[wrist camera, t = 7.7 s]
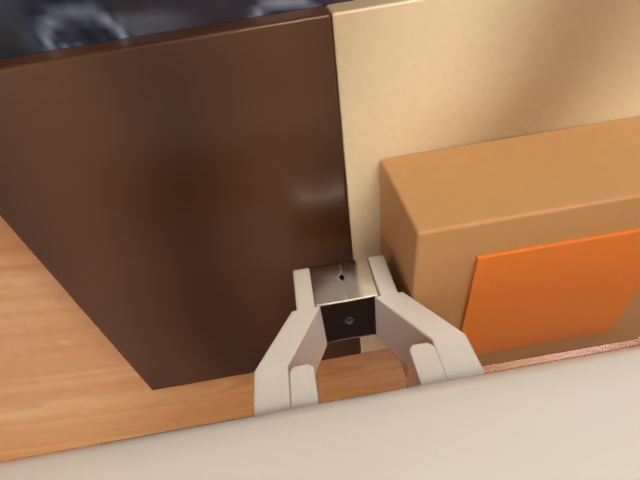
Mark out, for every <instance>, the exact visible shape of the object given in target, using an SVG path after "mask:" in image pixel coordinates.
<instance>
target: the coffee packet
mask: <svg viewBox="0 0 640 480" xmlns="http://www.w3.org/2000/svg"><path fill="white" fill-rule="evenodd" d="M380 215H381V255H383V256H384V257H385V260H386V262H387V265H388V268H389V270H390V273H391V275H392V278H393V280H394V283H395V286H396V288H397V291H398V292H404V293H406V294H407V295H409V296H410V297H411V298H413V299H414V300H416V301H417V302H419V303H420V304H422V305H423V306H425V307H426V308H428V309H429V310H430V311H432V312H433V313H435V314H436V315H438V316H439V317H441V318H442V319H444V320H445V321H447V322H448V323H450V324H451V325H452V326H454V327H455V328H457V329H458V330H460V331H461V332H463V333H464V334H466V336H467V338H468V340H469V342H470V344H471V346H472V348H473V350H474V352H475V354H476V356H477V358H478V360H479V362H480V363H481V365H482V366H486V365H491V364H497V363H503V362H509V361H514V360H520V359H526V358H531V357H537V356H543V355H548V354H554V353H560V352H565V351H571V350H577V349H582V348H588V347H594V346H599V345H605V344H611V343H616V342H622V341H628V340H633V339H637V338H638V337H639V336H640V116H638V117H632V118H626V119H620V120H614V121H608V122H602V123H596V124H590V125H584V126H578V127H572V128H566V129H560V130H554V131H548V132H542V133H536V134H530V135H524V136H518V137H512V138H506V139H500V140H494V141H488V142H482V143H476V144H470V145H464V146H458V147H452V148H446V149H440V150H434V151H428V152H422V153H416V154H410V155H404V156H398V157H392V158H386V159H382V160H381V161H380ZM400 360H401V359H400ZM401 363H402V366H403V369H404V372H405V375H406V377H407V374H408V366H407V365H406V364H405V363H404V362H403V361H402V360H401Z"/></svg>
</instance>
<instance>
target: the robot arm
mask: <svg viewBox="0 0 640 480" xmlns="http://www.w3.org/2000/svg"><path fill="white" fill-rule="evenodd" d="M309 268H310V269H309ZM309 268H304V269H297V270H293V279H294V290H295V300H296V311H292V312H291V314H290V315H289V317H288V318H287V320H286V322H285V323H284V325H283V326H282V328H281V330H280V331H279V333H278V335H277V336H276V338H275V339H274V341H273V343H272V344H271V346H270V347H269V349H268V351H267V352H266V354H265V355H264V357H263V359H262V360H261V362H260V364H259V365H258V367H257V368H256V370H255V372H254V407H253V416H249V417H243V418H238V419H232V420H227V421H221V422H216V423H210V424H205V425H199V426H194V427H188V428H183V429H177V430H172V431H167V432H161V433H156V434H150V435H145V436H139V437H134V438H128V439H123V440H117V441H112V442H106V443H101V444H95V445H90V446H84V447H79V448H73V449H68V450H62V451H57V452H51V453H46V454H40V455H35V456H29V457H24V458H18V459H13V460H7V461H2V462H0V480H640V345H637V346H632V347H626V348H621V349H615V350H610V351H605V352H599V353H594V354H588V355H583V356H577V357H572V358H566V359H561V360H555V361H550V362H544V363H539V364H533V365H528V366H522V367H517V368H511V369H506V370H500V371H495V372H489V373H485V371H484V369H483V367H482V365H481V363H480V362H479V360H478V358H477V356H476V354H475V352H474V350H473V348H472V346H471V344H470V342H469V340H468V338H467V336H466V334H464V333H463V332H461V331H460V330H458V329H457V328H455V327H454V326H452V325H451V324H450V323H448V322H447V321H445V320H444V319H442V318H441V317H439V316H438V315H436V314H435V313H433V312H432V311H430V310H429V309H428V308H426V307H425V306H423V305H422V304H420V303H419V302H417V301H416V300H414V299H413V298H411V297H410V296H409V295H407V294H406V293H404V292H398V291H397V288H396V286H395V283H394V280H393V278H392V275H391V273H390V270H389V268H388V265H387V262H386V260H385V257H384V256H383V255H377V256H371V257H367V258H361V259H355V260H350V261H345V262H339V263H334V264H328V265H321V266H314V267H309ZM370 335H376V336H377V337H378V338H379V339H380V340H381V341H382V342H383V343H384V344H385V345H386V346H387V347H388V348H389V349H390V350H391V351H392V352H393V353H394V354H396V355H397V356H398V357H399V358H400V359H401V360H402V361H403V362H404V363H405V364H406V365H407V366H408V374H407V388H402V389H397V390H391V391H386V392H380V393H375V394H369V395H364V396H358V397H353V398H347V399H342V400H336V401H331V402H326V403H323V402H322V398H321V394H320V390H319V386H318V382H317V378H316V371H317V369H318V366H319V364H320V362H321V359H322V357H323V354H324V352H325V350H326V347H327V343H331V342H336V341H341V340H346V339H351V338H357V337H364V336H370Z"/></svg>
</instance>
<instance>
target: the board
mask: <svg viewBox="0 0 640 480" xmlns="http://www.w3.org/2000/svg"><path fill="white" fill-rule="evenodd" d="M638 116H640V0H354V1H348V2H342V3H336V4H330V5H327V6H326V8H325V7H323V6H319V7H313V8H307V9H301V10H295V11H289V12H283V13H276V14H270V15H264V16H258V17H252V18H246V19H240V20H234V21H228V22H222V23H216V24H210V25H204V26H198V27H192V28H186V29H180V30H173V31H167V32H161V33H155V34H149V35H143V36H137V37H131V38H125V39H119V40H113V41H107V42H101V43H95V44H89V45H83V46H77V47H70V48H64V49H58V50H52V51H46V52H40V53H34V54H28V55H22V56H16V57H10V58H4V59H0V215H1V217H2V218H3V219H4V220H5V221H6V222H7V224H8V225H9V226H10V227H11V228H12V229H13V230H14V232H15V233H16V234H17V235H18V236H19V237H20V238H21V240H22V241H23V242H24V243H25V244H26V245H27V247H28V248H29V249H30V250H31V251H32V252H33V253H34V255H35V256H36V257H37V258H38V259H39V260H40V261H41V263H42V264H43V265H44V266H45V267H46V268H47V269H48V271H49V272H50V273H51V274H52V275H53V276H54V278H55V279H56V280H57V281H58V282H59V283H60V284H61V286H62V287H63V288H64V289H65V290H66V291H67V292H68V294H69V295H70V296H71V297H72V298H73V299H74V300H75V302H76V303H77V304H78V305H79V306H80V307H81V309H82V310H83V311H84V312H85V313H86V314H87V315H88V317H89V318H90V319H91V320H92V321H93V322H94V323H95V325H96V326H97V327H98V328H99V329H100V330H101V332H102V333H103V334H104V335H105V336H106V337H107V338H108V340H109V341H110V342H111V343H112V344H113V345H114V346H115V348H116V349H117V350H118V351H119V352H120V353H121V354H122V356H123V357H124V358H125V359H126V360H127V361H128V363H129V364H130V365H131V366H132V367H133V368H134V369H135V371H136V372H137V373H138V374H139V375H140V376H141V377H142V379H143V380H144V381H145V382H146V383H147V384H148V386H149V387H150V388H151V389H152V390H157V389H162V388H168V387H173V386H179V385H185V384H190V383H196V382H202V381H207V380H213V379H219V378H224V377H230V376H236V375H241V374H247V373H252V372H255V370H256V368H257V367H258V365H259V364H260V362H261V360H262V359H263V357H264V355H265V354H266V352H267V351H268V349H269V347H270V346H271V344H272V343H273V341H274V339H275V338H276V336H277V335H278V333H279V331H280V330H281V328H282V326H283V325H284V323H285V322H286V320H287V318H288V317H289V315H290V314H291V312H292V311H296V300H295V290H294V279H293V270H297V269H304V268H309V267H314V266H321V265H328V264H334V263H339V262H345V261H350V260H355V259H361V258H367V257H371V256H377V255H381V215H380V161H381V160H382V159H386V158H392V157H398V156H404V155H410V154H416V153H422V152H428V151H434V150H440V149H446V148H452V147H458V146H464V145H470V144H476V143H482V142H488V141H494V140H500V139H506V138H512V137H518V136H524V135H530V134H536V133H542V132H548V131H554V130H560V129H566V128H572V127H578V126H584V125H590V124H596V123H602V122H608V121H614V120H620V119H626V118H632V117H638ZM309 269H310V268H309ZM383 349H389V348H388V347H387V346H386V345H385V344H384V343H383V342H382V341H381V340H380V339H379V338H378V337H377V336H376V335H370V336H364V337H357V338H351V339H346V340H341V341H336V342H331V343H327V347H326V350H325V352H324V354H323V357H322V359H321V360H326V359H331V358H337V357H343V356H348V355H354V354H359V353H361V352H362V353H366V352H372V351H378V350H383Z"/></svg>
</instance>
